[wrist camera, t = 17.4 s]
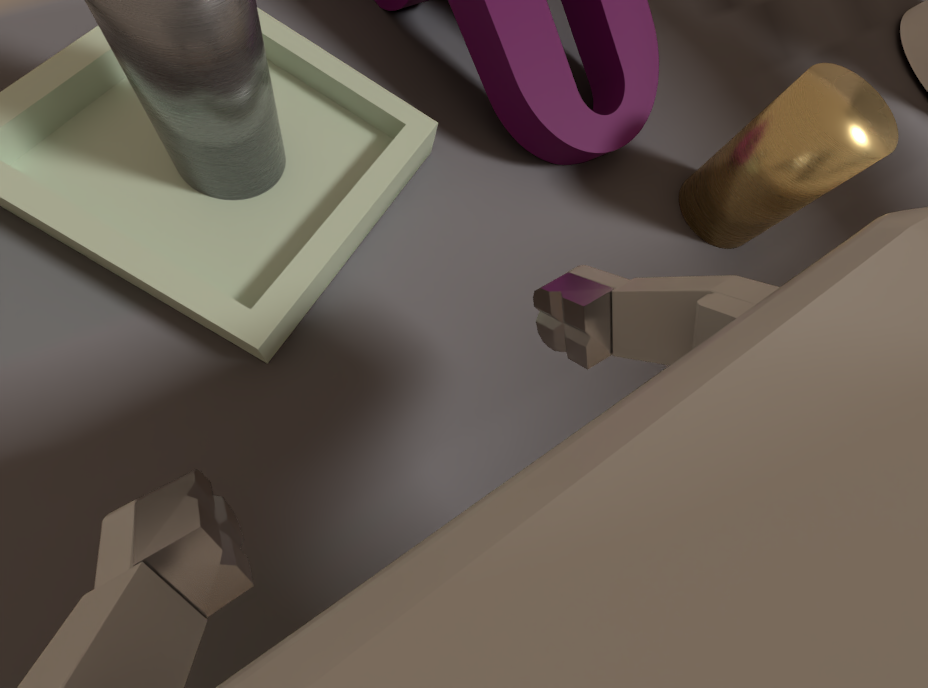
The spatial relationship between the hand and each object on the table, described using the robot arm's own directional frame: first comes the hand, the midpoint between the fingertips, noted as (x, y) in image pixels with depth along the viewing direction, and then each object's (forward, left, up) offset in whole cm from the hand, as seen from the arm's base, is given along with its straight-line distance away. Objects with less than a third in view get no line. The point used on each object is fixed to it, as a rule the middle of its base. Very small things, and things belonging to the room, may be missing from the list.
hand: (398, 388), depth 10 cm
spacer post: (+11, -6, -6) cm, 14 cm away
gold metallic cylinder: (-9, -19, -7) cm, 22 cm away
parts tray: (+11, -6, -7) cm, 14 cm away
